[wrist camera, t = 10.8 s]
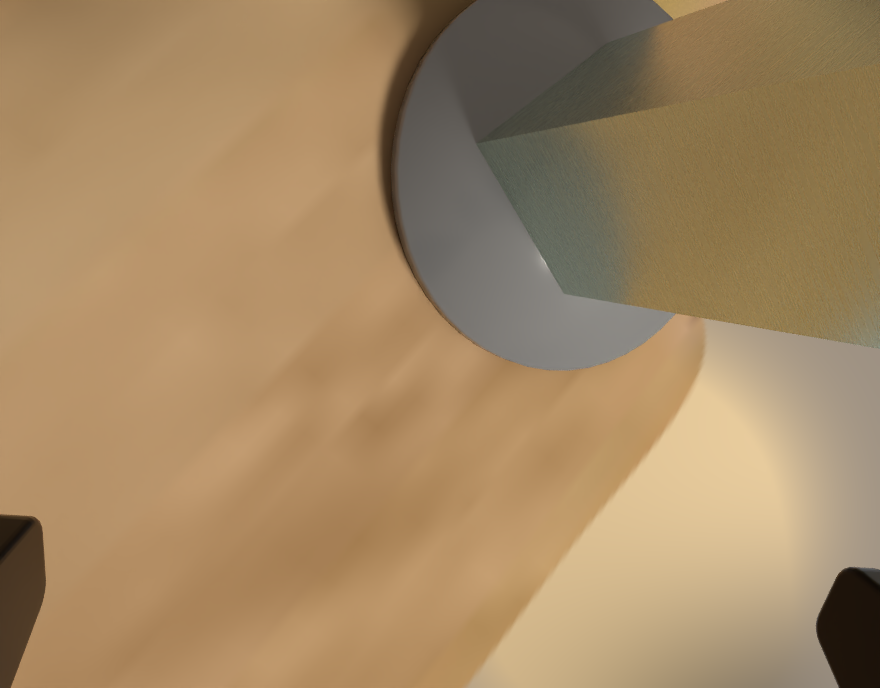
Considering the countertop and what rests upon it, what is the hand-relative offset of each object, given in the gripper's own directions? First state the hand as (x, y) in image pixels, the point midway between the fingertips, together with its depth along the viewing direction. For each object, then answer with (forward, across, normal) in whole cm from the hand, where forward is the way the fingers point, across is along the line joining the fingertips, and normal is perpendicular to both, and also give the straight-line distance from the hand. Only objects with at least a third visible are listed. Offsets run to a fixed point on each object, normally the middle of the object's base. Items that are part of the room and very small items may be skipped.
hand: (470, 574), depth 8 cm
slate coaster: (+14, -5, -2) cm, 15 cm away
